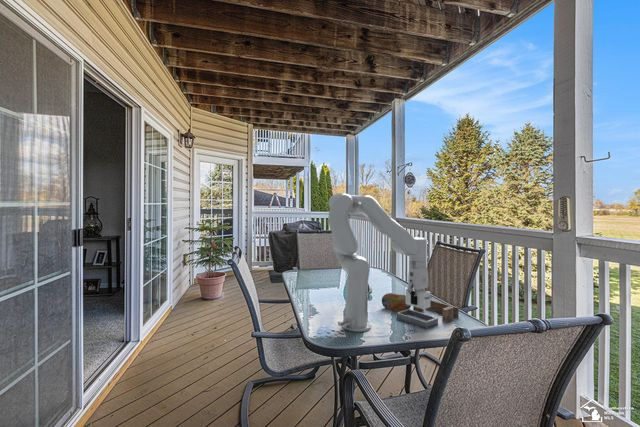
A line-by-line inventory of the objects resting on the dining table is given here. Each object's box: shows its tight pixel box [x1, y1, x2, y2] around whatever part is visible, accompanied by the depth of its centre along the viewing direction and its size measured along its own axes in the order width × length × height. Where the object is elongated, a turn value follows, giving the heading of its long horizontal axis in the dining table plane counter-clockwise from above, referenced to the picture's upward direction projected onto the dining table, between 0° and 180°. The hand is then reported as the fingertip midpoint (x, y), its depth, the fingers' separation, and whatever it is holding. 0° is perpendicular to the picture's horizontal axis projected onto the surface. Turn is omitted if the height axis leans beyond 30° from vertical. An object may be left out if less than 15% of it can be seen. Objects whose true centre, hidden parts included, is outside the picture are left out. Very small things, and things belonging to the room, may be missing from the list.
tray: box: [396, 308, 439, 330], centre depth 145 cm, size 10×16×3 cm, turn 38°
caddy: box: [405, 288, 433, 310], centre depth 144 cm, size 5×11×7 cm, turn 38°
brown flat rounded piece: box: [381, 292, 412, 312], centre depth 162 cm, size 15×3×8 cm, turn 62°
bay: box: [412, 299, 460, 324], centre depth 155 cm, size 11×18×6 cm, turn 38°
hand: (417, 302), depth 145 cm, fingers closed on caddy, 5 cm apart
